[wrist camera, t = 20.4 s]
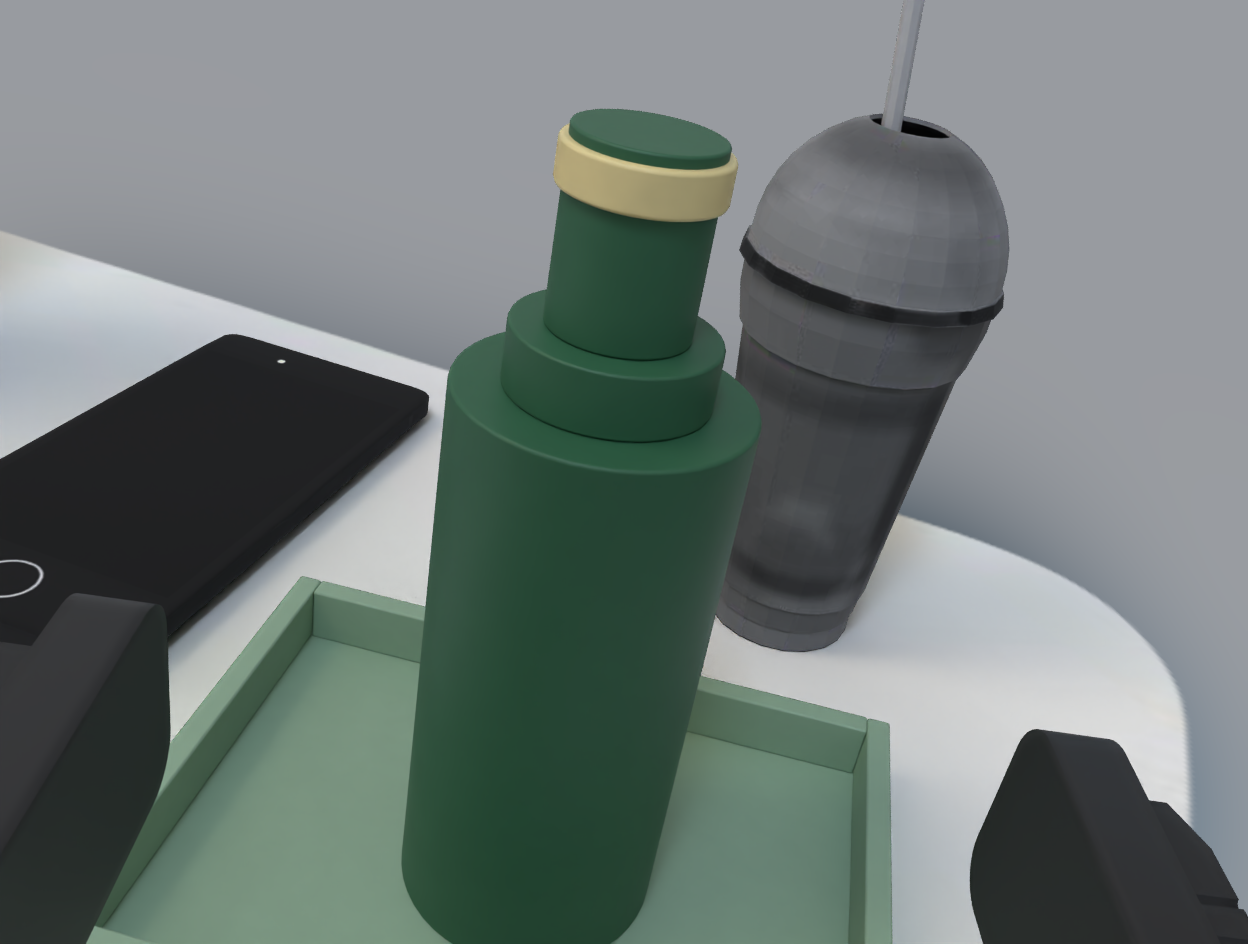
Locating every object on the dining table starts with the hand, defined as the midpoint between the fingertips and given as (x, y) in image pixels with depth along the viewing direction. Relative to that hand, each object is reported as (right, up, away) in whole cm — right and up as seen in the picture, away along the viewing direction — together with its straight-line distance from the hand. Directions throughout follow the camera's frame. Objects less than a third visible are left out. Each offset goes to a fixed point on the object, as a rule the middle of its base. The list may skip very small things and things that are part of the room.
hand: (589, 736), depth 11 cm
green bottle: (-2, -6, +16) cm, 17 cm away
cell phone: (-14, +2, +27) cm, 31 cm away
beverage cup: (+5, -2, +27) cm, 28 cm away
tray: (-2, -7, +16) cm, 18 cm away
